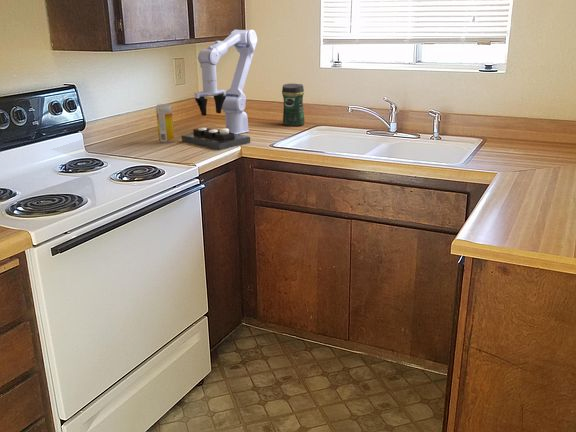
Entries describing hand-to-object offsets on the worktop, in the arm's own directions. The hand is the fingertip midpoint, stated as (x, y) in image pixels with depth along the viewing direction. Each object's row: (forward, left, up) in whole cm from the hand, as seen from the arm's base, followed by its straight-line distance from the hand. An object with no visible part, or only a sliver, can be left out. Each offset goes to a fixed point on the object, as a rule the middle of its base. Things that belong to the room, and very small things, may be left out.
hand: (211, 114), depth 238 cm
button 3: (+4, +12, -6) cm, 14 cm away
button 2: (+4, +5, -7) cm, 10 cm away
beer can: (+15, -12, -11) cm, 22 cm away
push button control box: (+3, +4, -10) cm, 11 cm away
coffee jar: (-43, +5, -11) cm, 45 cm away
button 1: (+4, -2, -8) cm, 9 cm away
